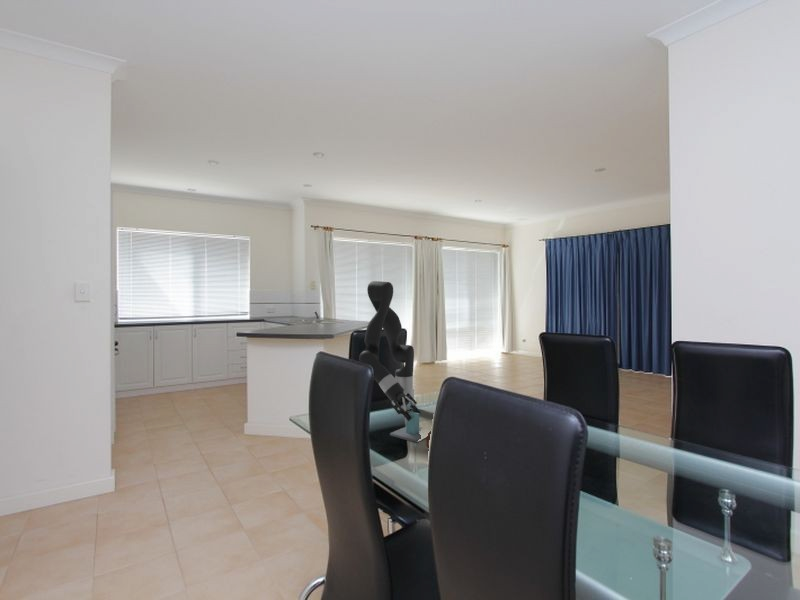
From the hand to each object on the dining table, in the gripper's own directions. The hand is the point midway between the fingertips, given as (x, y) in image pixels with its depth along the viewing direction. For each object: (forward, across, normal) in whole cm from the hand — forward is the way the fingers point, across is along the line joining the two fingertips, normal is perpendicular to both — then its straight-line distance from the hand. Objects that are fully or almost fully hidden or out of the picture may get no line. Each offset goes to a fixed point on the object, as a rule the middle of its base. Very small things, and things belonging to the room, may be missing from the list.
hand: (414, 417), depth 176 cm
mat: (+5, 0, +6) cm, 8 cm away
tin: (+17, -9, -6) cm, 20 cm away
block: (+4, 0, +5) cm, 7 cm away
